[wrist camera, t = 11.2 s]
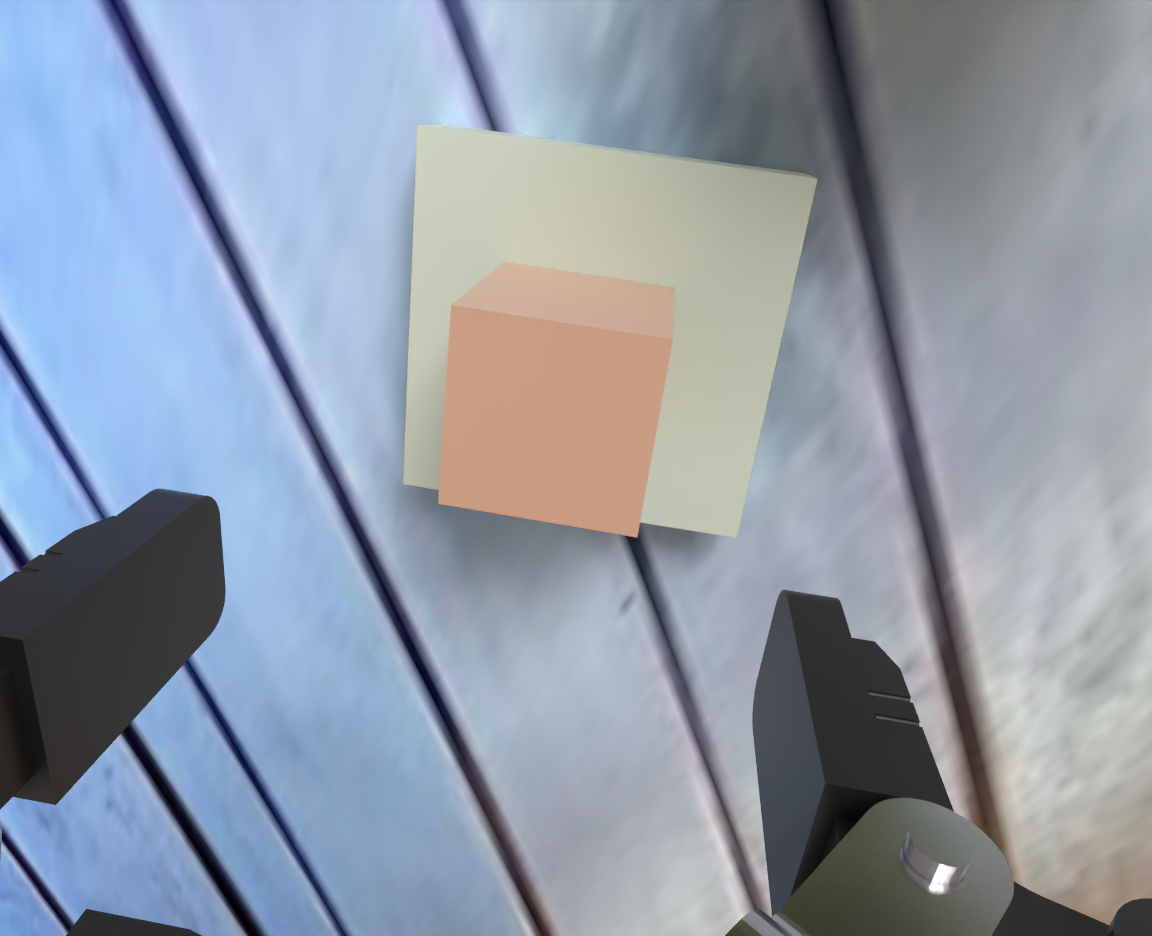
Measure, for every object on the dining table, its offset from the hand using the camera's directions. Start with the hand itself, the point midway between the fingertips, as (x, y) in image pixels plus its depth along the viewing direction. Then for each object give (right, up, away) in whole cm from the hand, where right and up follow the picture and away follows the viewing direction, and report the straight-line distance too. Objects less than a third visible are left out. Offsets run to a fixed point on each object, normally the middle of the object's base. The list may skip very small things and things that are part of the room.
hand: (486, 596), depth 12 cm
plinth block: (+2, +7, +16) cm, 17 cm away
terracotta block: (+1, +5, +13) cm, 14 cm away
